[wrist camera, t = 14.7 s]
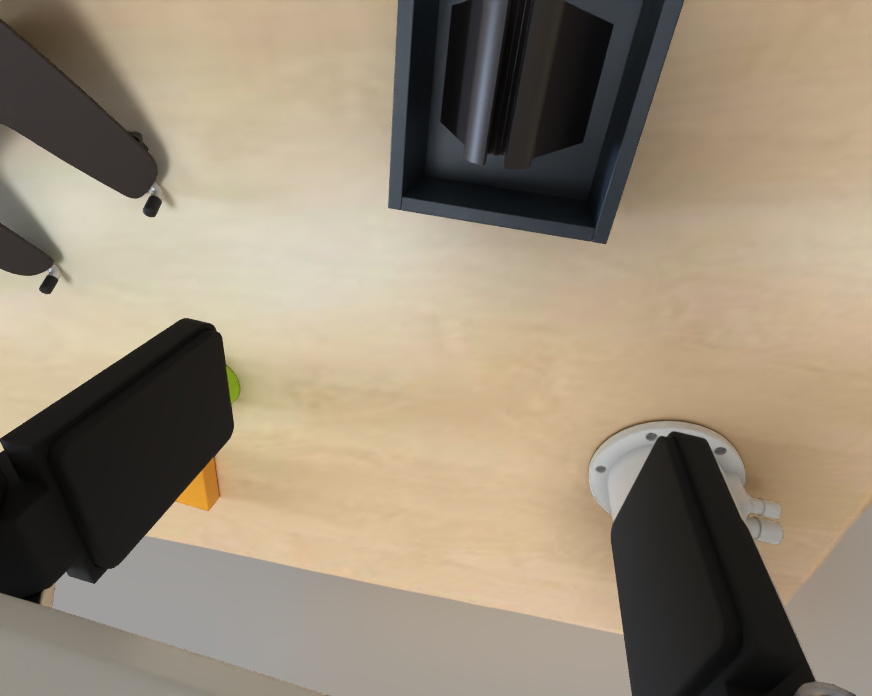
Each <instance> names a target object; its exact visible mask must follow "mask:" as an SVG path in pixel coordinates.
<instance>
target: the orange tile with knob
mask: <svg viewBox="0 0 872 696" xmlns="http://www.w3.org/2000/svg"><path fill="white" fill-rule="evenodd" d="M218 498H219V491H218V484H217V476H216V469H215V462H214V457H213V459H212V460H211V461H210V462H209V463H208V464H207V465H206V466H205V468H204V469H203V470H202V471H201V472H200V473H199V474H198V476H197V477H196V478H195V479H194V480H193V481H192V482H191V484H190V485H189V486H188V487H187V488H186V489H185V490H184V492H183V493H182V494H181V495H180V496H179V497H178V498H177V499H176V501H175V502H179V503H182V504H186V505H189V506H193V507H196V508H199V509H203V510H206V511H209V510H210V509H211V508H212V506H213V505H214V504H215V502H216V501H217V500H218Z"/></svg>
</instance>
